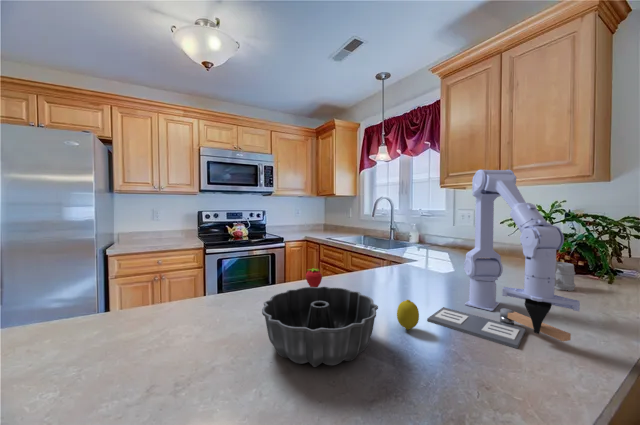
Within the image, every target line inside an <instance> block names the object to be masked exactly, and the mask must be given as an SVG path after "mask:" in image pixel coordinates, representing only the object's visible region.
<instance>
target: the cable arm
mask: <svg viewBox="0 0 640 425" xmlns="http://www.w3.org/2000/svg"><path fill="white" fill-rule="evenodd" d="M499 311H500V315H501V316H503V317H506V318H509V319H511V320H514V322H517V323H518V324H521V325H523V326H526V327H527V328H530V329H533V330H534V328H533V324H532V320H531V317H530V316H527V315H524V314H522V313H519V312H516V311H515V310H513V309H510V308H503V307H502V308H500V310H499ZM539 333H542V334H545V335H547V336H549V337H552V338H554V339H556V340H559V341H561V342H567V341H571V338H572V337H571V336H572V334H571V333H570V332H568V331H566V330H562V329H560V328H557V327H555V326H552V325H550V324H547V323H544V322H542V324H541V327H540V332H539Z"/></svg>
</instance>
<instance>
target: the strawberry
mask: <svg viewBox="0 0 640 425" xmlns="http://www.w3.org/2000/svg"><path fill="white" fill-rule="evenodd" d="M311 265H312V267H313V268H309V269H307V272H306V274H305V279H306V282H307V284H308V287H320V284H321V282H322V279H323V275H322V274H323V273H321V269H319V268H315V266H314V265H313V264H311Z"/></svg>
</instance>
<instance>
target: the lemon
mask: <svg viewBox="0 0 640 425" xmlns="http://www.w3.org/2000/svg"><path fill="white" fill-rule="evenodd" d="M396 318H397V321H398V324H400V326H402V327H403V328H404V329H405V330H407V331H409V330H410V329H413V328H415V327H416V326H417V325H418V323H419V319H420V312H419V308H418V306H417V305H416V303H415V302H413V301H411V300H410V299H406V300H402V302H400V303H399V304H398V306H397V309H396Z"/></svg>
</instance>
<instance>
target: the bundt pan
mask: <svg viewBox="0 0 640 425" xmlns="http://www.w3.org/2000/svg"><path fill="white" fill-rule="evenodd" d="M378 309H379V305H377V304H375V303H374V300H373V299H372V298H371V297H370V296H367V295H364V294H362V293H361V292H360V291H354V290H353V291H352V290H351V289H347V288H342V287H329V286H325V285H324V286H318V287H310V286H305V287H299V288H296V289H288V290H286V291H284V292H279V293H276V294H274V295H272V296H271V297H270V298H269V299H268V300H265V301H264V302H263V307H262V309H261V314H262V316H263V317H264V320H265V324H266V330H267V336H268V339H269V341H270V343H271V344H272V346H273V347H274V349H275V351H276V353H277V354H278V355H279V356H280V357H281V358H286V359H289V360H290V361H292V362H293V363H295V364H299V365H300V364H306V363H309V364H310V365H311V366H312V367H313V368H317V367H319V366H320V365H321V364H322V363H323V364H325V365H327V366H336V365H339V364H340V363H342V362H343V361H345V362H351V361H353V360H355V359H356V358H357V355H358V354H360V353H362V352H364V351H365V349H366V348H368V345H369V344H370V340H371V336H372V334H373V331H374V325H375V324H374V323H375V318H377V310H378Z"/></svg>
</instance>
